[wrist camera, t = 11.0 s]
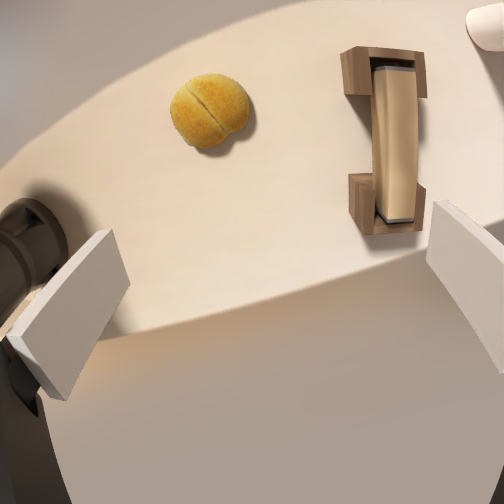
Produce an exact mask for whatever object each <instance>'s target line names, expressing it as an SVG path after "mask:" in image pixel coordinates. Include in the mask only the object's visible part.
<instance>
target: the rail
mask: <svg viewBox="0 0 504 504" xmlns="http://www.w3.org/2000/svg"><path fill="white" fill-rule="evenodd" d="M370 69H371V79H372V92H373V95H370V103H371V122H372V155H373V189H374V191H375V208H376V210H377V211H378V212H379V213H380V214H381V216H382V217H383V218H384V219H385V221H386V222H387V223H393V222H408V221H414V215H415V203H416V189H417V169H418V104H417V85H416V72H415V68H406V67H394V66H381V67H375V68H370Z"/></svg>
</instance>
